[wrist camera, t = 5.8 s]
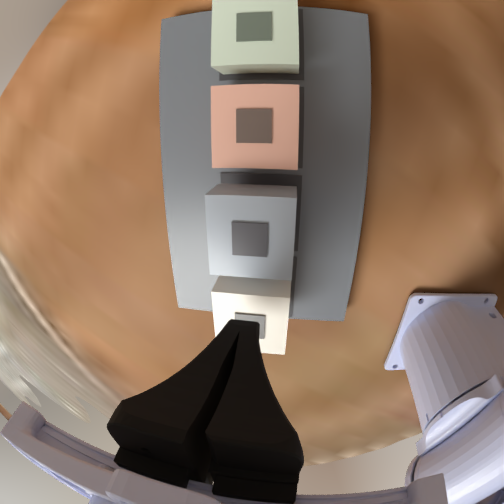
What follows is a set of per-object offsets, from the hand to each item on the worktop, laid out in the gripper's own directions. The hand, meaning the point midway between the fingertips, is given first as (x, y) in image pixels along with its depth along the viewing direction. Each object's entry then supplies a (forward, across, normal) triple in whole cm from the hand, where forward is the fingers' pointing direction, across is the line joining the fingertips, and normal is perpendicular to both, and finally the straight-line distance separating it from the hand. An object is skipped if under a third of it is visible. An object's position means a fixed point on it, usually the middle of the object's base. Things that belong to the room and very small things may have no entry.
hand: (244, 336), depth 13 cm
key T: (+6, 0, -9) cm, 11 cm away
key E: (+6, 0, -14) cm, 15 cm away
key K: (+5, 0, -4) cm, 6 cm away
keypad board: (+7, 0, -6) cm, 10 cm away
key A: (+5, 0, +1) cm, 5 cm away
